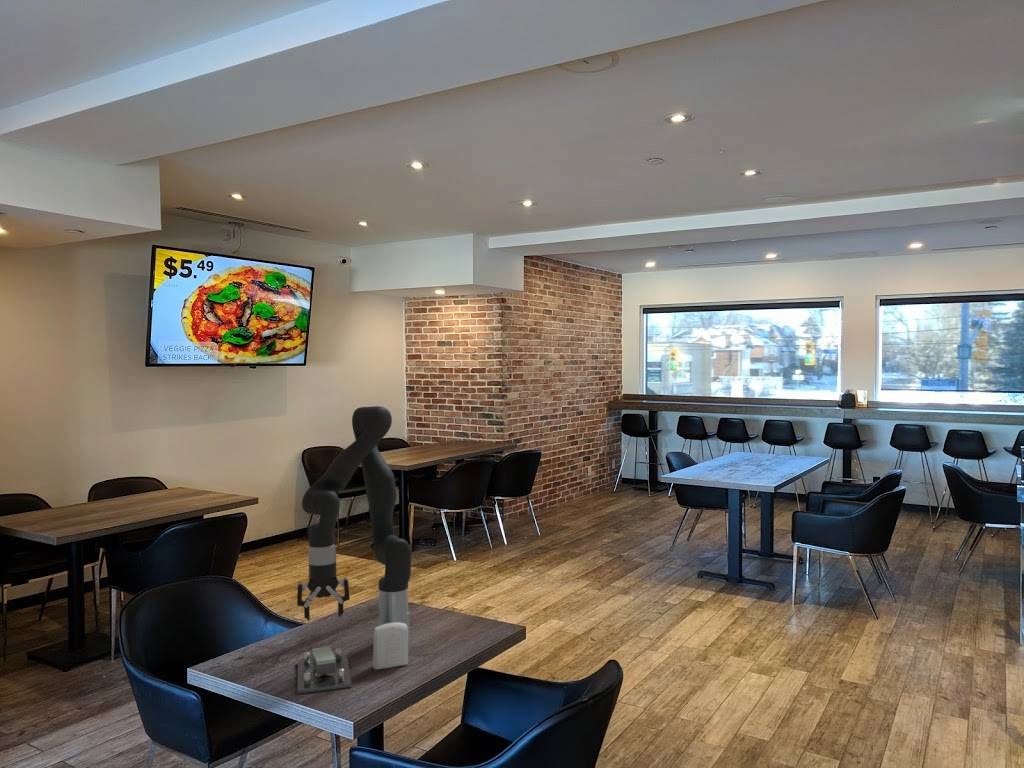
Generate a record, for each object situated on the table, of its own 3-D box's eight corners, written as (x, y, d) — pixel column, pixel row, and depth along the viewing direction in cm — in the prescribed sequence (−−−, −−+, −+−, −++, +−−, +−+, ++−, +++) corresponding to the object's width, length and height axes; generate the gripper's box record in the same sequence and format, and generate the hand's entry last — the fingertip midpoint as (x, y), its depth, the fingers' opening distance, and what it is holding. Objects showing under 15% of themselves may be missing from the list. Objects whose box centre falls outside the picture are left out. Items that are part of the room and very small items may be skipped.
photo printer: (406, 659, 213) (405, 618, 213) (410, 665, 210) (409, 622, 209) (371, 666, 209) (371, 623, 209) (375, 671, 205) (374, 628, 205)
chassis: (346, 657, 215) (346, 644, 215) (351, 687, 195) (351, 672, 195) (297, 663, 211) (297, 649, 211) (297, 693, 191) (297, 679, 191)
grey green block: (330, 659, 209) (329, 646, 209) (335, 673, 199) (335, 658, 199) (312, 662, 207) (312, 648, 207) (317, 676, 198) (316, 661, 197)
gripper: (347, 554, 208) (348, 610, 208) (296, 559, 204) (297, 616, 204) (349, 561, 201) (350, 619, 201) (296, 566, 197) (297, 625, 197)
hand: (324, 617), depth 203 cm, fingers open, 8 cm apart
